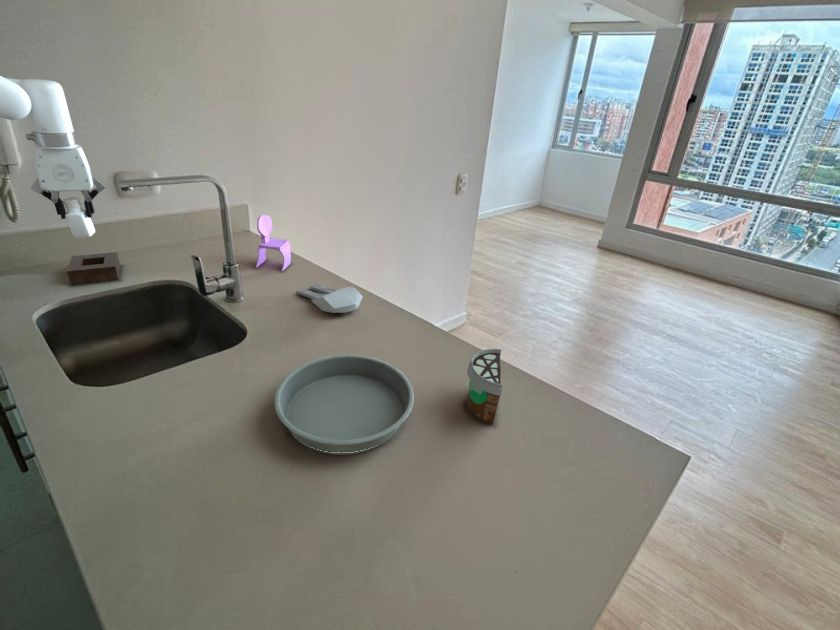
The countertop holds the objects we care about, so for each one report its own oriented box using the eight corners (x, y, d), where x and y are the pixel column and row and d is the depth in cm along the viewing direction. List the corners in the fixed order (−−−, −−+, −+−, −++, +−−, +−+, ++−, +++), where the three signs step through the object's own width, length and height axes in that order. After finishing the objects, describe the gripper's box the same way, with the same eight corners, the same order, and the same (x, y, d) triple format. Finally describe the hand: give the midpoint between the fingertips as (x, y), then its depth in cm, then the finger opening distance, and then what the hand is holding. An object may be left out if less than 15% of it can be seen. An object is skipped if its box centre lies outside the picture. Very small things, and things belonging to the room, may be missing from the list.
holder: (71, 285, 114) (66, 271, 112) (76, 269, 122) (71, 256, 120) (119, 280, 119) (115, 266, 117) (120, 265, 126) (116, 252, 124)
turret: (321, 292, 127) (319, 276, 125) (370, 308, 115) (369, 290, 113) (291, 303, 120) (289, 286, 118) (341, 321, 108) (339, 303, 106)
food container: (463, 383, 93) (470, 343, 88) (493, 388, 92) (501, 347, 87) (459, 424, 82) (466, 381, 77) (493, 429, 81) (502, 386, 77)
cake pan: (428, 389, 90) (430, 371, 88) (382, 482, 69) (383, 462, 67) (319, 359, 96) (318, 342, 93) (246, 437, 75) (243, 417, 73)
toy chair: (282, 272, 131) (279, 223, 124) (254, 268, 132) (248, 219, 124) (293, 262, 138) (290, 214, 131) (266, 258, 139) (261, 211, 132)
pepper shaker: (73, 238, 113) (57, 202, 107) (79, 232, 116) (64, 196, 111) (91, 237, 113) (76, 201, 108) (96, 231, 117) (83, 196, 111)
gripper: (4, 141, 97) (31, 223, 105) (99, 143, 104) (116, 219, 113) (12, 136, 102) (37, 214, 111) (101, 138, 110) (118, 211, 119)
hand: (77, 216), depth 112 cm, fingers closed on pepper shaker, 4 cm apart
